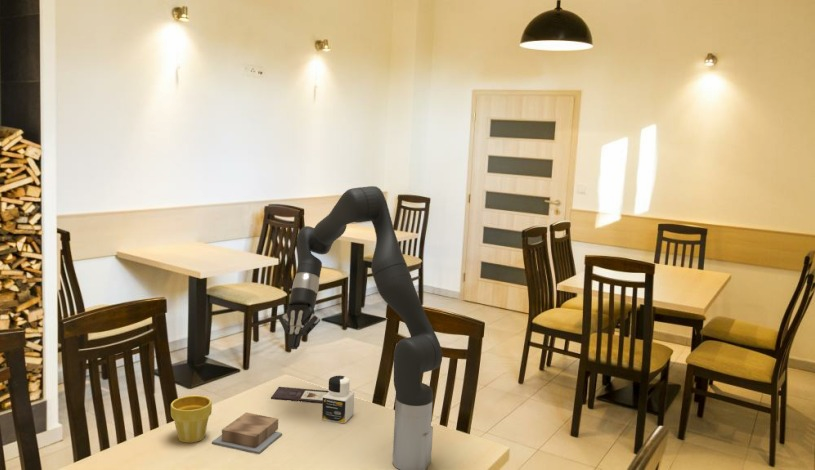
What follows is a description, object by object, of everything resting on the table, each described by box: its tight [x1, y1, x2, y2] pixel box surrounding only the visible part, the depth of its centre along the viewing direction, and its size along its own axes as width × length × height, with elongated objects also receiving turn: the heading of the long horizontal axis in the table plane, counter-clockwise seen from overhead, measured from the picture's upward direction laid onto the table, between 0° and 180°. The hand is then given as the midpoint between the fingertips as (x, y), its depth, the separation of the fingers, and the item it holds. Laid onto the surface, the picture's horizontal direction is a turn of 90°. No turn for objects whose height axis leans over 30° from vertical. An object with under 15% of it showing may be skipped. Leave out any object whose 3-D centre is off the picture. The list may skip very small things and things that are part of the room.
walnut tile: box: [221, 412, 279, 448], centre depth 180 cm, size 10×3×12 cm
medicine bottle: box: [321, 375, 355, 424], centre depth 195 cm, size 7×7×12 cm
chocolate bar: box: [270, 386, 329, 405], centre depth 210 cm, size 9×1×18 cm
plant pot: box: [170, 394, 213, 444], centre depth 178 cm, size 10×10×10 cm
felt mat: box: [211, 431, 283, 455], centre depth 179 cm, size 14×12×1 cm
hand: (293, 348), depth 189 cm, fingers closed
